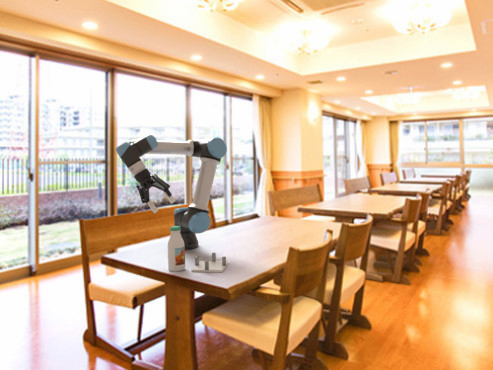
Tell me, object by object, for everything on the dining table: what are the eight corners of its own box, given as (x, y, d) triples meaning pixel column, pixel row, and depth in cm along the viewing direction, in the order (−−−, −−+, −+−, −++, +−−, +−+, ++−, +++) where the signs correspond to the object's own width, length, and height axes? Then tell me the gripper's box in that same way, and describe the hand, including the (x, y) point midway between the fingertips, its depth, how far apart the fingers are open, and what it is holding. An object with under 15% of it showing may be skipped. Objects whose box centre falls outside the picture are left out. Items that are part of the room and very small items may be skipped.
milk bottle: (169, 272, 157) (167, 228, 156) (167, 267, 165) (166, 225, 163) (186, 270, 159) (184, 227, 158) (184, 266, 167) (182, 224, 165)
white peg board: (199, 262, 172) (199, 252, 172) (229, 262, 170) (229, 252, 169) (190, 271, 157) (190, 261, 157) (222, 272, 155) (222, 261, 155)
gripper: (120, 184, 174) (145, 219, 178) (150, 163, 161) (176, 201, 164) (130, 178, 181) (154, 212, 184) (160, 158, 167) (185, 194, 170)
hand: (164, 207), depth 174 cm, fingers open, 13 cm apart
